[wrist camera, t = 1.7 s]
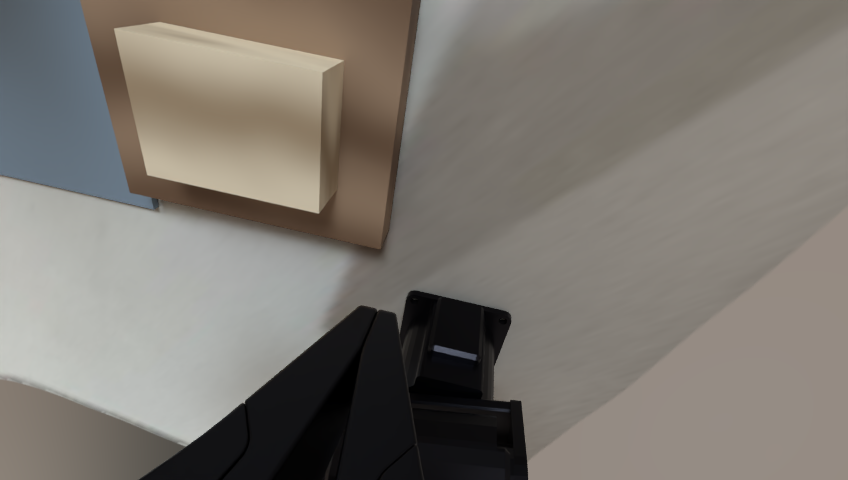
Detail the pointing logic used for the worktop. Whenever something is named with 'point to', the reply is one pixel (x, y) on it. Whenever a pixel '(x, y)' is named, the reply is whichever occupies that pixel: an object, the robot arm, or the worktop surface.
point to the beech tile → (234, 113)
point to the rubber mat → (56, 103)
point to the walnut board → (302, 31)
